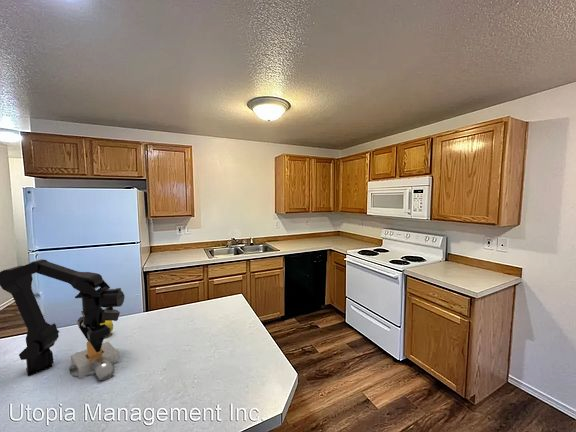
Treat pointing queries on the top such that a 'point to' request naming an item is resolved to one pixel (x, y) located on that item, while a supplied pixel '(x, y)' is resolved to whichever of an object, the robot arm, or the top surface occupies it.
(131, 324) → the top surface
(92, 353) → the orange block
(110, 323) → the lemon
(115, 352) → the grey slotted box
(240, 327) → the top surface
